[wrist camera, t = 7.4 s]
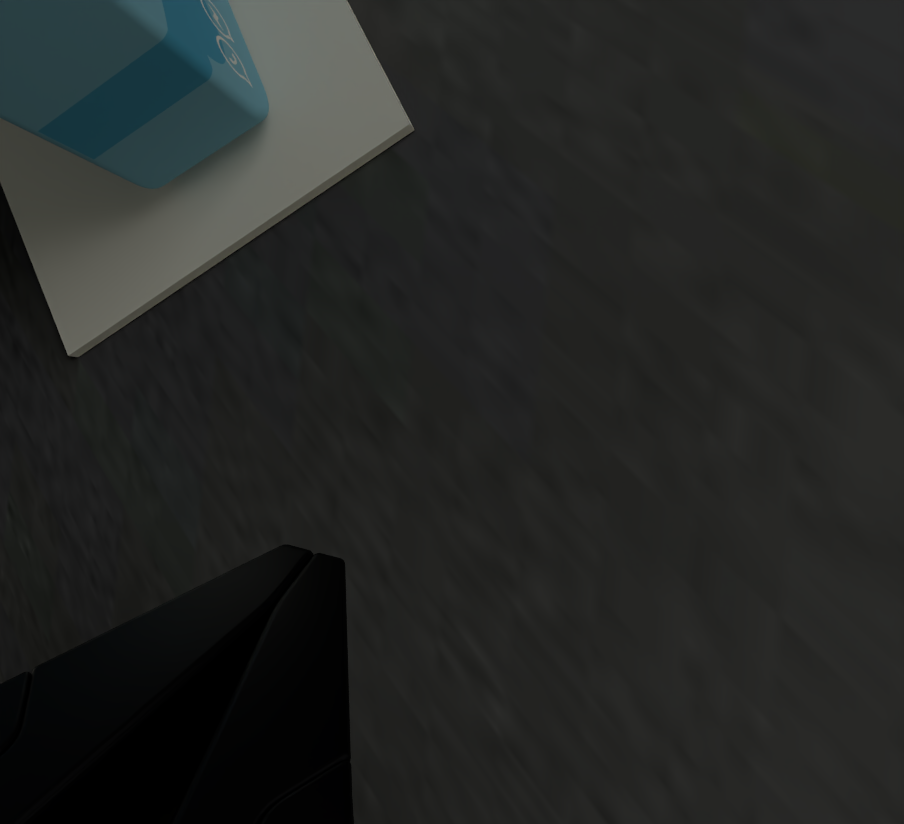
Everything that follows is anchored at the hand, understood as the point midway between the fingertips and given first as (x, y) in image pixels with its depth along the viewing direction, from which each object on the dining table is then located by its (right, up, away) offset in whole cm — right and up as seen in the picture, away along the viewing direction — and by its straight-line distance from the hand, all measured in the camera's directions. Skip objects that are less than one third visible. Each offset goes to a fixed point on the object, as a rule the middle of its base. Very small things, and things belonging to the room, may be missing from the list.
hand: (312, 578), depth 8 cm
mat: (-9, +14, +13) cm, 21 cm away
